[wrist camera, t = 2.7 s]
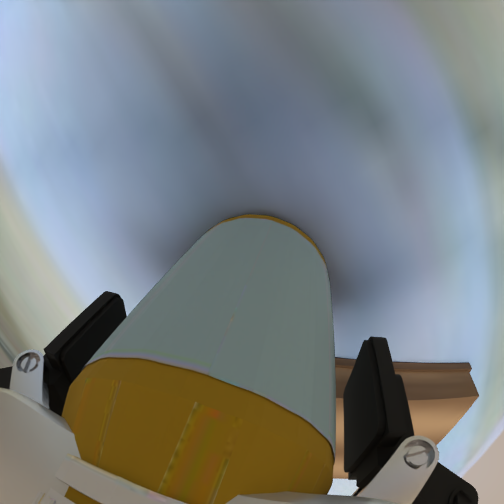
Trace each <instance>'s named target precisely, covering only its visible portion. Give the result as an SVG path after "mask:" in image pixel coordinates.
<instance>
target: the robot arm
mask: <svg viewBox="0 0 504 504" xmlns="http://www.w3.org/2000/svg"><path fill="white" fill-rule="evenodd" d="M126 317H127V316H126V311H125V307H124V302H123V299H121V297H120V295H119V294H116V293H112V292H108V291H105V292H104V293H103V294H102V295H100V296H99V297H98V298H97V299H96V300H95V301H94V302H93V303H92V304H91V305H89V306H88V307H87V308H86V309H85V310H84V311H83V312H82V313H81V314H80V315H79V316H78V317H77V318H75V319H74V320H73V321H72V322H71V323H70V324H69V325H68V326H67V327H66V328H65V329H64V330H63V331H62V332H61V333H60V334H59V335H58V336H57V337H56V338H55V339H54V340H53V341H52V342H51V343H50V344H49V345H48V346H47V347H46V348H45V349H44V351H45V353H46V354H45V355H44V356H43V355H42V353H40V352H39V351H37V350H27V351H24V352H22V353H20V354H19V355H18V356H17V357H16V358H15V360H14V363H13V366H12V367H7V368H2V369H0V504H32V502H33V501H34V499H35V497H36V495H37V494H38V492H39V491H42V492H44V493H45V495H44V497H43V498H42V500H41V501H40V503H39V504H42V502H43V500H44V499H45V497H46V495H47V493H48V492H49V490H50V488H52V489H53V490H55V491H56V492H58V493H59V494H61V495H62V496H65V494H66V492H67V490H68V487H69V485H67V484H66V483H64V482H62V481H61V480H59V479H58V478H56V477H55V474H56V472H57V471H58V469H59V467H60V465H61V464H62V462H63V461H64V459H65V457H66V456H67V454H71V455H73V456H76V457H78V458H80V459H81V457H80V454H79V451H78V447H77V444H76V441H75V435H74V433H73V432H72V431H71V429H70V427H69V425H68V424H67V422H66V420H65V419H64V418H63V417H61V416H62V412H63V408H64V405H65V401H66V397H67V393H68V390H69V386H70V385H71V384H72V383H73V381H74V380H75V379H76V378H77V376H78V375H79V374H80V373H81V370H82V369H83V367H84V366H85V365H86V364H87V362H88V361H89V360H90V359H91V358H92V357H93V355H94V354H95V353H96V352H97V351H98V349H99V348H100V347H101V346H102V345H103V344H104V342H105V341H106V340H107V339H108V338H109V337H110V335H111V334H112V333H113V332H114V331H115V330H116V329H117V327H118V326H119V325H120V324H121V323H122V322H123V321H124V319H125V318H126ZM343 408H344V472H346V473H348V480H357V487H359V488H358V489H357V490H356V491H355V492H354V493H353V494H352V495H351V496H340V495H323V494H308V493H297V492H288V491H286V492H278V493H264V494H247V495H237V496H236V497H234V498H233V499H232V500H230V501H229V502H227V503H226V504H478V494H477V491H476V489H475V488H474V487H473V486H472V485H471V484H469V483H468V482H466V481H465V480H463V479H462V478H460V477H459V476H457V475H456V474H454V473H453V472H451V471H450V470H449V469H447V468H446V467H444V466H443V465H441V464H440V463H439V462H438V460H439V451H438V448H437V446H436V445H435V443H434V442H433V441H432V440H430V439H429V438H427V437H424V436H418V435H417V436H415V435H414V429H413V424H412V419H411V414H410V410H409V405H408V400H407V396H406V392H405V387H404V383H403V379H402V377H401V375H400V374H395V370H394V366H393V362H392V358H391V354H390V351H389V347H388V343H387V340H386V338H382V337H370V338H369V340H364V342H363V344H362V347H361V349H360V352H359V355H358V357H357V360H356V362H355V365H354V367H353V370H352V372H351V375H350V377H349V379H348V382H347V384H346V386H345V389H344V393H343Z"/></svg>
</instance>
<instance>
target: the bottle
mask: <svg viewBox="0 0 504 504" xmlns="http://www.w3.org/2000/svg"><path fill="white" fill-rule="evenodd" d="M61 417H63V418H64V419H65V420H66V422H67V424H68V425H69V427H70V429H71V431H72V432H73V433H74V435H75V441H76V444H77V447H78V451H79V454H80V457H81V459H80V458H78V457H76V456H73V455H71V454H67V456H66V457H65V459H64V461H63V462H62V464H61V465H60V467H59V469H58V471H57V472H56V474H55V477H56V478H58V479H59V480H61V481H62V482H64V483H66V484H67V485H69V487H68V490H67V492H66V494H65V496H62V495H61V494H59V493H58V492H56V491H55V490H53V489H52V488H50V490H49V492H48V493H47V495H46V497H45V499H44V500H43V502H42V504H226V503H227V502H229V501H230V500H232V499H233V498H234V497H236V496H237V495H247V494H264V493H278V492H286V491H288V492H297V493H308V494H323V495H327V493H328V492H329V490H330V487H331V485H332V482H333V466H334V463H335V449H336V376H335V349H334V330H333V315H332V302H331V290H330V281H329V276H328V272H327V267H326V262H325V260H324V257H323V256H322V254H321V252H320V251H319V249H318V248H317V246H316V244H315V243H314V242H313V241H312V240H311V238H310V237H308V236H307V235H306V234H305V233H303V232H302V231H301V230H300V229H298V228H297V227H296V226H294V225H292V224H291V223H288V222H285V221H283V220H280V219H278V218H275V217H272V216H267V215H252V214H248V215H241V216H237V217H233V218H229V219H226V220H224V221H222V222H220V223H219V224H217V225H216V226H214V227H213V228H211V229H210V230H208V231H207V232H206V233H205V234H204V235H203V236H202V237H201V238H200V239H199V240H198V241H197V242H196V243H195V244H194V245H193V246H192V247H191V248H190V249H189V250H188V251H187V252H186V253H185V254H184V255H183V256H182V257H181V258H180V259H179V260H178V261H177V263H176V264H175V265H174V266H173V267H172V268H171V269H170V270H169V271H168V272H167V273H166V274H165V275H164V276H163V277H162V279H161V280H160V281H159V282H158V283H157V284H156V285H155V286H154V287H153V288H152V289H151V290H150V292H149V293H148V294H147V295H146V296H145V297H144V298H143V299H142V300H141V301H140V303H139V304H138V305H137V306H136V307H135V308H134V309H133V310H132V312H131V313H130V314H129V315H128V316H127V317H126V318H125V319H124V321H123V322H122V323H121V324H120V325H119V326H118V327H117V329H116V330H115V331H114V332H113V333H112V334H111V335H110V337H109V338H108V339H107V340H106V341H105V342H104V344H103V345H102V346H101V347H100V348H99V349H98V351H97V352H96V353H95V354H94V355H93V357H92V358H91V359H90V360H89V361H88V362H87V364H86V365H85V366H84V367H83V369H82V370H81V373H80V374H79V375H78V376H77V378H76V379H75V380H74V381H73V383H72V384H71V385H70V386H69V390H68V393H67V397H66V401H65V405H64V408H63V412H62V416H61ZM44 495H45V493H44V492H42V491H39V492H38V494H37V495H36V497H35V499H34V501H33V502H32V504H39V503H40V501H41V500H42V498H43V497H44Z"/></svg>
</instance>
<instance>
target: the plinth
mask: <svg viewBox="0 0 504 504" xmlns="http://www.w3.org/2000/svg"><path fill="white" fill-rule="evenodd" d="M355 362H356V360H354V359H343V358H335V376H336V449H335V463H334V466H333V478H343V479H348V473H346V472H344V408H343V393H344V389H345V386H346V384H347V382H348V379H349V377H350V375H351V372H352V370H353V367H354V365H355ZM393 366H394V370H395V374H400V375H401V377H402V379H403V383H404V387H405V392H406V396H407V400H408V405H409V410H410V414H411V419H412V424H413V429H414V435H415V436H417V435H418V436H424V437H427V438H429V439H430V440H432V441H433V442H434V443H435V445H437V444H438V443H439V442H440V441H441V440H442V439H443V438H444V437H445V436H446V435H447V434H448V432H449V431H450V430H451V429H452V428H453V427H454V426H455V425H456V424H457V422H458V421H459V420H460V419H461V418H462V417H463V415H464V414H465V413H466V412H467V411H468V409H469V408H470V407H471V406H472V404H473V403H474V402H475V400H476V399H477V398H478V397H479V394H478V392H477V389H476V387H475V384H474V382H473V380H472V377H471V375H470V373H469V372H470V371H471V369H472V368H471V366H470V364H469V363H403V362H393Z"/></svg>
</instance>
